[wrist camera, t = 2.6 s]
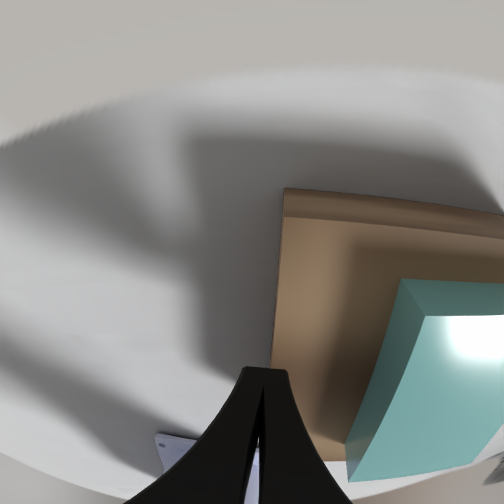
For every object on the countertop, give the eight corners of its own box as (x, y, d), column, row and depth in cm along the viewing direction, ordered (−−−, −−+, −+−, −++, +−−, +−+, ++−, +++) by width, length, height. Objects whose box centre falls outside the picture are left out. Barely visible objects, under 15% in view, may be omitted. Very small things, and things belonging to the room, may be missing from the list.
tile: (459, 432, 11) (471, 463, 9) (344, 444, 12) (348, 482, 10) (535, 284, 8) (565, 312, 6) (400, 278, 9) (425, 315, 7)
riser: (440, 396, 15) (461, 446, 12) (266, 398, 16) (260, 458, 12) (507, 216, 11) (561, 248, 7) (284, 187, 12) (283, 216, 8)
